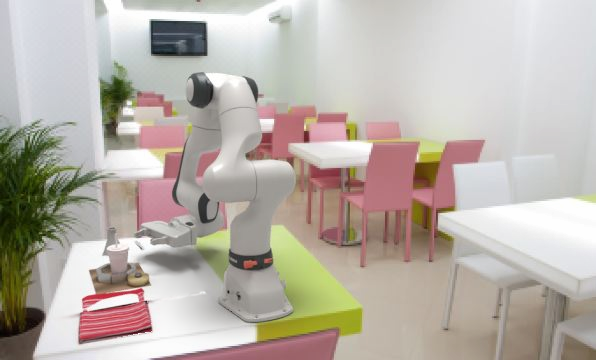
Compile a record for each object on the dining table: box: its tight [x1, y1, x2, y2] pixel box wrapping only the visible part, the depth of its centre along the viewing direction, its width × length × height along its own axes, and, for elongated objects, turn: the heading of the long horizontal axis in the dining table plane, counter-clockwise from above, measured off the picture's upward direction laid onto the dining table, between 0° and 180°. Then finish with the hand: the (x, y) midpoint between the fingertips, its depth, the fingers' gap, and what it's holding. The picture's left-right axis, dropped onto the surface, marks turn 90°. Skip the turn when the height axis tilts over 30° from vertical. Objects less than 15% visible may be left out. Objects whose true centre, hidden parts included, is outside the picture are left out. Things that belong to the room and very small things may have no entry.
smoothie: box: [107, 233, 130, 275], centre depth 151 cm, size 6×6×14 cm
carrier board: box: [88, 262, 152, 294], centre depth 153 cm, size 20×15×4 cm
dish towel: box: [78, 287, 153, 344], centre depth 131 cm, size 17×24×3 cm
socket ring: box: [95, 261, 137, 284], centre depth 153 cm, size 11×11×2 cm
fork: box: [134, 240, 152, 257], centre depth 181 cm, size 3×24×2 cm, turn 29°
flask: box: [102, 226, 121, 257], centre depth 173 cm, size 7×7×10 cm
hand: (143, 238), depth 158 cm, fingers open, 8 cm apart
